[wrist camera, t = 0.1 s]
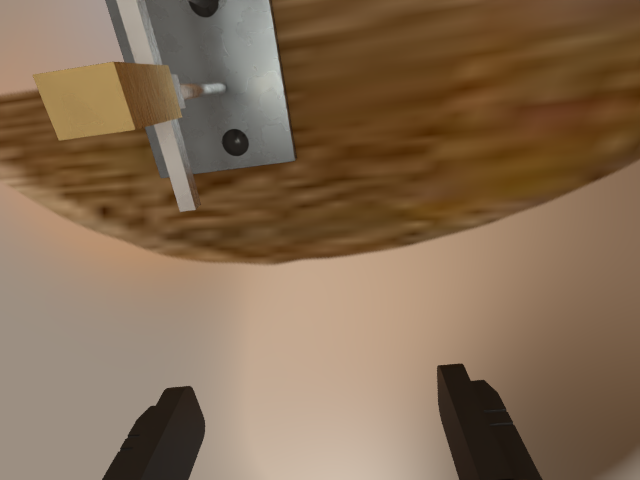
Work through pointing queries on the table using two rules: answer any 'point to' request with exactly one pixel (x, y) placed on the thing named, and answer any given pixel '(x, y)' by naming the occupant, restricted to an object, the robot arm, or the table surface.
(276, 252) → the table surface
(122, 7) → the bolt plate
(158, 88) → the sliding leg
